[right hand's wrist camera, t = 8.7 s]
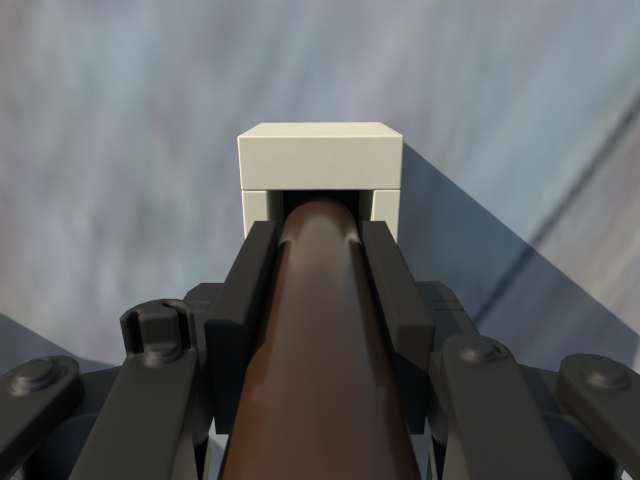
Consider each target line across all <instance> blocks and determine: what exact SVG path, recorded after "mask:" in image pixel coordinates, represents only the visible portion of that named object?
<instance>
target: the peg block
mask: <svg viewBox="0 0 640 480" xmlns="http://www.w3.org/2000/svg"><path fill="white" fill-rule="evenodd" d="M403 143H404V136H403V135H401V134H399V133H398V132H396V131H394V130H392V129H391V128H389V127H387V126H386V125H384V124H382V123H380V122H372V123H261V124H259V125H257V126H256V127H254V128H252V129H250V130H249V131H247V132H245V133H244V134H242V135H240V136H238V149H239V162H240V176H241V188H242V190H243V191H242V202H243V216H244V230H245V239H246V237H247V235H248V233H249V231H250V229H251V227H252V225H253V223H254V221H277V240H278V247H279V243H280V239H281V236H282V232H283V228H284V204H283V190H359V220H358V235H359V239H360V243H361V247H362V233H363V221H385V222H386V224H387V226H388V228H389V230H390V232H391V234H392V236H393V238H394V240H395V242H396V244H397V237H398V222H399V206H400V188H401V174H402V158H403Z"/></svg>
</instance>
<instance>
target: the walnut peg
mask: <svg viewBox="0 0 640 480" xmlns="http://www.w3.org/2000/svg"><path fill="white" fill-rule="evenodd" d="M217 480H422V478H421V474H420V470H419V466H418V462H417V458H416V455H415V451H414V447H413V443H412V439H411V435H410V431H409V428H408V424H407V420H406V416H405V412H404V408H403V405H402V401H401V397H400V393H399V389H398V385H397V381H396V378H395V374H394V370H393V366H392V362H391V358H390V354H389V351H388V347H387V343H386V339H385V335H384V331H383V328H382V324H381V320H380V316H379V312H378V308H377V304H376V301H375V297H374V293H373V289H372V285H371V281H370V278H369V274H368V270H367V266H366V262H365V258H364V254H363V251H362V247H361V243H360V239H359V235H358V231H357V227H356V224H355V220H354V218H353V215H352V214H351V212H350V211H349V209H348V208H347V207H346V206H345V205H344V204H342V203H341V202H339V201H338V200H336V199H333V198H330V197H325V196H315V197H310V198H307V199H305V200H303V201H301V202H299V203H298V204H297V205H295V206H294V207H293V208H292V210H291V211H290V212H289V214H288V216H287V218H286V221H285V224H284V228H283V232H282V236H281V239H280V243H279V247H278V251H277V254H276V258H275V262H274V266H273V270H272V273H271V277H270V281H269V285H268V288H267V292H266V296H265V300H264V303H263V307H262V311H261V315H260V319H259V322H258V326H257V330H256V334H255V337H254V341H253V345H252V349H251V353H250V356H249V360H248V364H247V368H246V371H245V375H244V379H243V383H242V387H241V390H240V394H239V398H238V402H237V405H236V409H235V413H234V417H233V421H232V424H231V428H230V432H229V436H228V439H227V443H226V447H225V451H224V455H223V458H222V462H221V466H220V470H219V473H218V477H217Z"/></svg>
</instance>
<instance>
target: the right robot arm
mask: <svg viewBox="0 0 640 480" xmlns="http://www.w3.org/2000/svg"><path fill="white" fill-rule="evenodd" d="M277 251H278V240H277V221H254V223H253V225H252V227H251V229H250V231H249V233H248V235H247V237H246V239H245V241H244V243H243V245H242V247H241V249H240V251H239V254H238V256H237V258H236V260H235V262H234V264H233V266H232V268H231V270H230V272H229V274H228V276H227V278H226V280H225V282H224V283H200V284H199V285H197V286H196V287H194V288H193V289H191V290H190V291H188V293H187V294H186V296H185V297H184V299H183V301H182V300H179V299H159V300H153V301H148V302H145V303H142V304H139V305H137V306H135V307H133V308H131V309H129V310H128V311H126V312H125V313H124V314H123V315H122V316H121V317H120V324H121V329H122V334H123V339H124V344H125V349H126V354H127V357H126V359H125V361H124V363H123V365H122V366H119V367H115V368H111V369H106V370H101V371H96V372H91V373H86V374H81V371H80V367H79V363H78V362H77V361H76V360H75V359H74V358H71V357H67V356H47V357H41V358H37V359H34V360H30V361H29V362H27V363H24V364H22V365H20V366H17V367H15V368H14V369H12V370H11V371H9V372H8V373H6V374H4V375H3V376H1V377H0V480H9V479H10V478H11V477H12V476H13V475H14V474H15V473H16V472H17V475H18V477H19V480H207V478H208V469H209V461H210V453H211V451H210V443H209V435H208V433H209V429H210V426H211V423H212V420H213V417H214V420H215V429H216V434H229V432H230V428H231V424H232V421H233V417H234V413H235V409H236V405H237V402H238V398H239V394H240V390H241V387H242V383H243V379H244V375H245V371H246V368H247V364H248V360H249V356H250V353H251V349H252V345H253V341H254V337H255V334H256V330H257V326H258V322H259V319H260V315H261V311H262V307H263V303H264V300H265V296H266V292H267V288H268V285H269V281H270V277H271V273H272V270H273V266H274V262H275V258H276V254H277ZM362 251H363V254H364V258H365V262H366V266H367V270H368V274H369V278H370V281H371V285H372V289H373V293H374V297H375V301H376V304H377V308H378V312H379V316H380V320H381V324H382V328H383V331H384V335H385V339H386V343H387V347H388V351H389V354H390V358H391V362H392V366H393V370H394V374H395V378H396V381H397V385H398V389H399V393H400V397H401V401H402V405H403V408H404V412H405V416H406V420H407V424H408V428H409V431H410V434H424V426H425V418H426V416H427V419H428V422H429V425H430V428H431V431H432V435H431V443H430V451H429V460H428V468H427V476H426V480H432V477H433V480H622V479H621V476H622V473H623V471H624V470H625V471H626V472H627V473H628V474H629V475H630V477H631V478H632V479H633V480H640V375H639V374H638V373H636V372H634V371H633V370H631V369H630V368H628V367H627V366H625V365H623V364H621V363H618V362H616V361H613V360H612V359H610V358H607V357H603V356H602V357H601V356H599V355H594V354H574V355H569V356H567V357H566V358H564V359H563V360H562V361H561V365H560V369H559V373H558V372H553V371H548V370H543V369H538V368H533V367H528V366H524V365H521V364H517V362H516V360H515V358H514V356H513V355H512V353H511V352H510V351H509V350H508V348H507V347H505V346H504V345H502V344H501V343H499V342H498V341H496V340H493V339H491V338H488V337H486V336H482V335H481V334H480V333H479V331H478V330H477V328H476V327H475V325H474V324H473V322H472V321H471V319H470V318H469V316H468V315H467V313H466V311H464V308H463V307H462V305H461V304H460V302H458V299H457V298H456V296H455V295H454V293H453V292H452V290H451V289H449V288H447V287H446V286H444V285H443V284H441V283H440V282H415V281H414V278H413V276H412V274H411V272H410V270H409V268H408V266H407V264H406V262H405V260H404V258H403V256H402V254H401V252H400V250H399V248H398V246H397V244H396V242H395V240H394V238H393V236H392V234H391V232H390V230H389V228H388V226H387V224H386V222H385V221H363V233H362Z"/></svg>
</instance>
